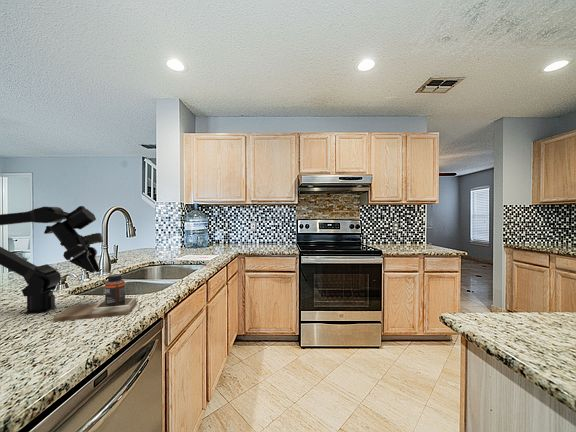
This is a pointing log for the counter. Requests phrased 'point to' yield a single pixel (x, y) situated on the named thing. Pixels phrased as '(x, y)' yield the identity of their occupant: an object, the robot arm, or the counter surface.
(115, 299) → the supplement bottle
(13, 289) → the counter surface
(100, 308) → the walnut board
